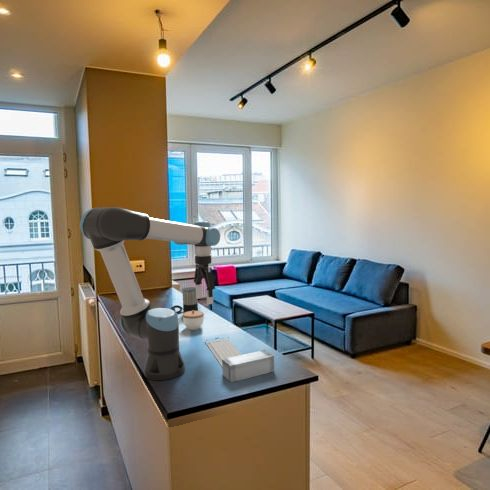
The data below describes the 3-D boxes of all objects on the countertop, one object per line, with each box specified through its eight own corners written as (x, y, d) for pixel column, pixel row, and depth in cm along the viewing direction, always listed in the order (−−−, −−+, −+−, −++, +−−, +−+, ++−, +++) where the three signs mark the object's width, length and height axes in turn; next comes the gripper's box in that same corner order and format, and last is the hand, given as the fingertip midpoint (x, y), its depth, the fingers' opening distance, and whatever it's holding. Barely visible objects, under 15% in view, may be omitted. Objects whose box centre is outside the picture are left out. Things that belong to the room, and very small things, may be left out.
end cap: (230, 382, 136) (230, 365, 135) (222, 374, 142) (222, 359, 141) (274, 371, 144) (274, 355, 143) (264, 364, 150) (264, 349, 150)
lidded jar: (208, 327, 198) (207, 310, 197) (191, 332, 191) (190, 314, 190) (195, 323, 206) (195, 306, 205) (179, 328, 198) (178, 310, 197)
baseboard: (220, 372, 145) (250, 368, 149) (220, 365, 145) (250, 361, 149) (203, 345, 174) (228, 342, 178) (203, 339, 174) (228, 336, 178)
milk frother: (200, 314, 223) (199, 289, 222) (173, 318, 218) (172, 292, 216) (194, 308, 237) (193, 285, 235) (168, 311, 231) (167, 287, 229)
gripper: (221, 257, 167) (223, 305, 169) (200, 252, 189) (202, 294, 191) (205, 258, 164) (207, 307, 166) (186, 253, 186) (187, 296, 188)
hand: (204, 301), depth 179 cm, fingers open, 12 cm apart
